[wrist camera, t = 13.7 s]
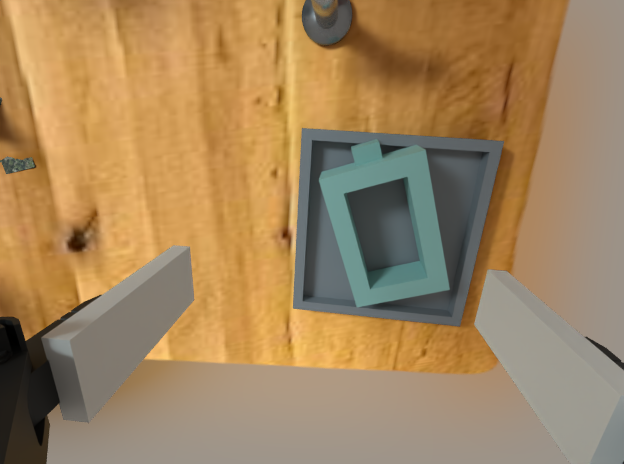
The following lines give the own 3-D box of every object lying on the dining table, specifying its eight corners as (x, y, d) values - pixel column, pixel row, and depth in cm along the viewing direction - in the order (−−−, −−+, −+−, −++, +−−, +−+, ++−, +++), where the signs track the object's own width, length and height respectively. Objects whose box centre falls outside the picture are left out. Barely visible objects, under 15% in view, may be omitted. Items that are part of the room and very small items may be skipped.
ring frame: (317, 156, 29) (313, 163, 26) (413, 127, 28) (422, 131, 24) (355, 288, 35) (356, 307, 31) (439, 271, 33) (449, 289, 29)
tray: (304, 128, 31) (302, 128, 29) (493, 140, 29) (504, 141, 27) (295, 299, 36) (293, 308, 34) (453, 316, 35) (459, 326, 33)
